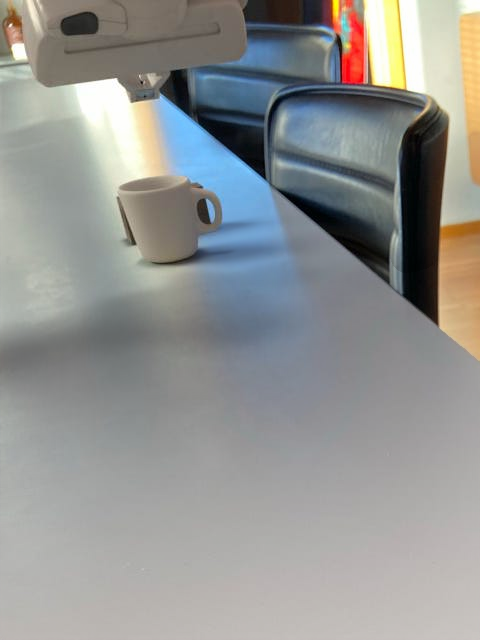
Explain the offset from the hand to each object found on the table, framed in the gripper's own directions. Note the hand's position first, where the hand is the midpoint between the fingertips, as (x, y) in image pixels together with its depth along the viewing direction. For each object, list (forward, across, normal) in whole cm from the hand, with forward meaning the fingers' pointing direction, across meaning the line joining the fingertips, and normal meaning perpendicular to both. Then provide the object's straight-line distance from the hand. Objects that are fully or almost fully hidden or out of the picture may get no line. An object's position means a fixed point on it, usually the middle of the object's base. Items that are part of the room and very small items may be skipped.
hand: (142, 95), depth 102 cm
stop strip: (+25, -2, -1) cm, 25 cm away
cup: (+17, -1, +8) cm, 19 cm away
